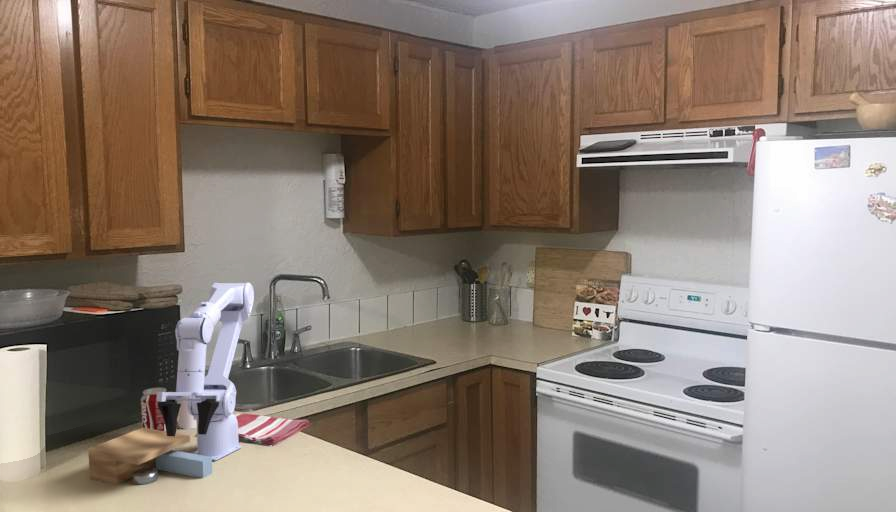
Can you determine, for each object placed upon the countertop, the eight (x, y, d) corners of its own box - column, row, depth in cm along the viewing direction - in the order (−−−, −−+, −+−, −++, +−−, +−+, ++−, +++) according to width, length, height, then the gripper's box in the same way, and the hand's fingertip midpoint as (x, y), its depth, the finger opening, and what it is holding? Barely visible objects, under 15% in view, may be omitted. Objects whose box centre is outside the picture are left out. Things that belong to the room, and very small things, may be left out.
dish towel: (274, 448, 174) (274, 438, 174) (196, 438, 182) (195, 427, 182) (310, 427, 190) (310, 417, 190) (237, 418, 198) (236, 408, 198)
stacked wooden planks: (143, 454, 169) (142, 427, 169) (190, 463, 164) (189, 435, 163) (89, 478, 156) (88, 448, 155) (139, 488, 150) (137, 458, 149)
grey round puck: (145, 475, 158) (145, 466, 158) (162, 478, 156) (162, 469, 156) (127, 483, 153) (127, 474, 153) (145, 487, 151) (144, 478, 151)
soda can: (176, 433, 184) (174, 387, 183) (159, 442, 178) (157, 395, 177) (154, 430, 186) (152, 386, 185) (136, 439, 180) (134, 393, 179)
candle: (182, 430, 186) (180, 374, 185) (175, 424, 191) (173, 369, 190) (206, 426, 190) (204, 371, 188) (199, 419, 195) (197, 366, 194)
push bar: (165, 465, 163) (164, 448, 163) (212, 474, 158) (211, 457, 158) (156, 470, 161) (155, 453, 160) (203, 479, 155) (202, 461, 155)
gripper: (171, 371, 149) (166, 437, 146) (230, 372, 160) (226, 434, 158) (153, 371, 153) (148, 436, 150) (211, 372, 164) (207, 433, 162)
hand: (186, 435), depth 154 cm, fingers open, 7 cm apart
